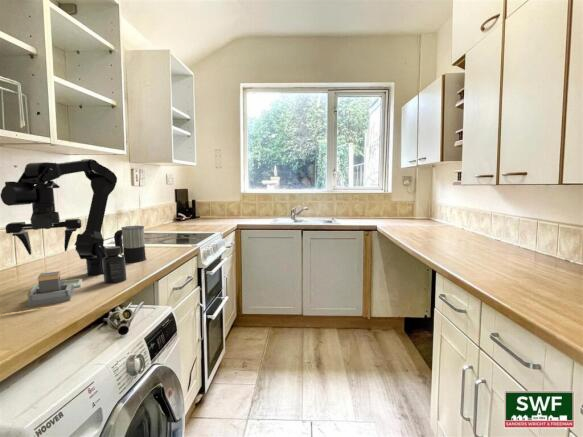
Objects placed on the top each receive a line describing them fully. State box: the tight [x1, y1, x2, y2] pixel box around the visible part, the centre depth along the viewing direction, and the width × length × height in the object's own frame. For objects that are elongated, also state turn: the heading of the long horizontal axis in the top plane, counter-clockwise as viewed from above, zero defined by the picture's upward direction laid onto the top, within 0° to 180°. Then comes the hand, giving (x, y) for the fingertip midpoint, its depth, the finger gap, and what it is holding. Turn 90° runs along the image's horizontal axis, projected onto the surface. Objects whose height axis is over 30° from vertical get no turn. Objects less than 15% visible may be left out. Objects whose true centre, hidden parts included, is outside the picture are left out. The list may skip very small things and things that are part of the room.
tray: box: [29, 277, 83, 294], centre depth 110 cm, size 9×13×1 cm
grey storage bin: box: [27, 279, 75, 308], centre depth 100 cm, size 12×10×4 cm
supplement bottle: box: [102, 246, 127, 285], centre depth 115 cm, size 7×7×12 cm
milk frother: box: [113, 225, 147, 263], centre depth 145 cm, size 14×16×15 cm
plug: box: [37, 270, 62, 294], centre depth 97 cm, size 5×5×6 cm
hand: (48, 252), depth 108 cm, fingers open, 9 cm apart
